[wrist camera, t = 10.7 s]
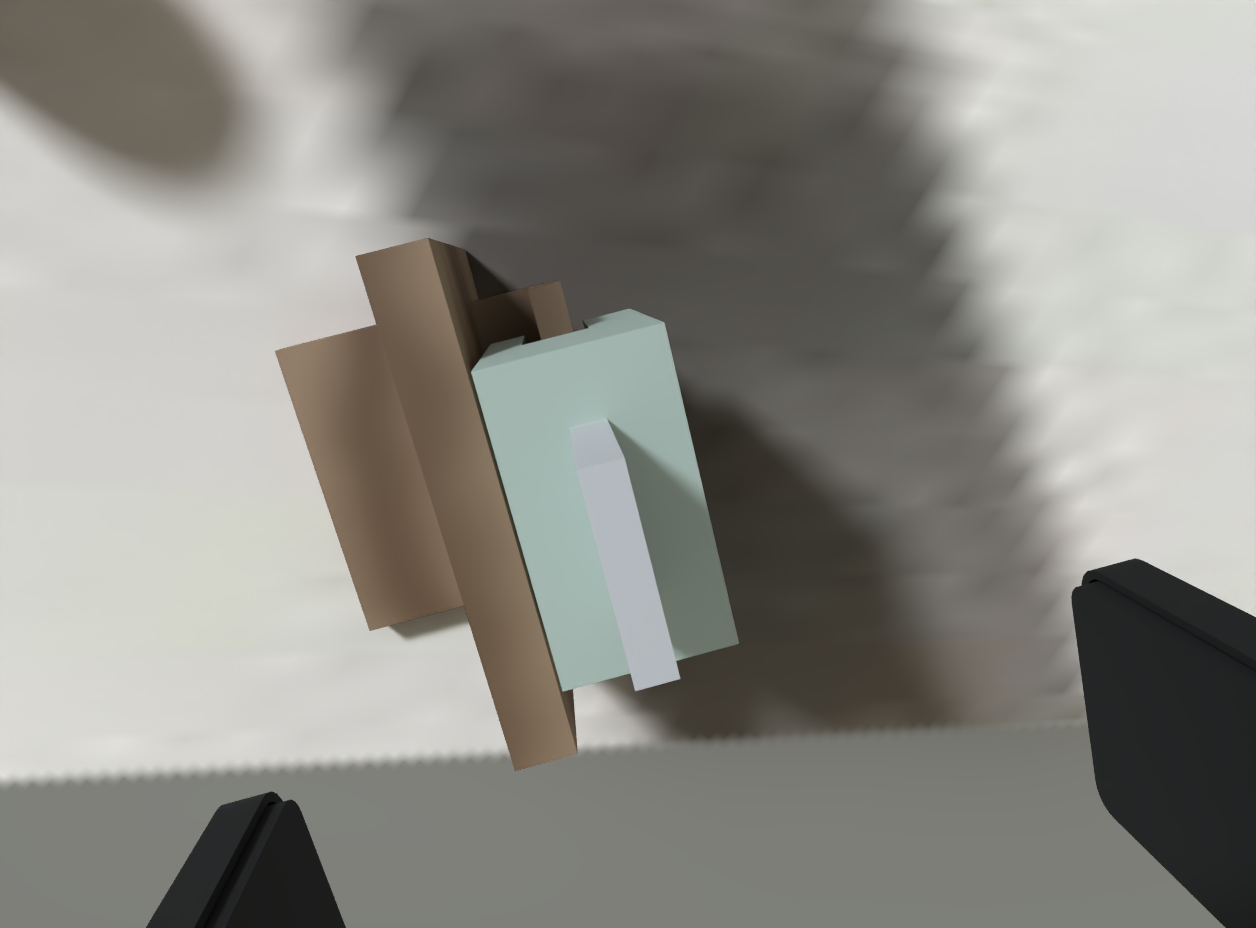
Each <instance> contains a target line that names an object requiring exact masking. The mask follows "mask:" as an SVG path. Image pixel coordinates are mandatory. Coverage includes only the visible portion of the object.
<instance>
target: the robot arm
mask: <svg viewBox="0 0 1256 928" xmlns="http://www.w3.org/2000/svg"><path fill="white" fill-rule="evenodd" d="M1072 608H1073V616H1074V623H1075V631H1076V638H1077V646H1078V653H1079V661H1080V668H1081V676H1082V683H1083V690H1084V698H1085V705H1086V713H1087V720H1088V728H1089V735H1090V742H1091V749H1092V757H1093V765H1094V773H1095V780H1096V785H1097V789H1098V792H1099V795H1100V797H1101V799H1102V801H1103V803H1104V805H1105V807H1106V808H1107V810H1108V811H1109V813H1110V814H1111V815H1112V816H1113V817H1114V819H1116V821H1117V822H1118V823H1119V824H1121V825H1122V826H1123V827H1124V828H1125V829H1126V830H1127V831H1128V832H1129V833H1130V834H1131V835H1132V836H1133V837H1134V838H1135V839H1136V840H1137V841H1138V842H1139V843H1140V844H1141V845H1142V846H1143V847H1144V848H1145V849H1146V850H1147V851H1148V852H1149V853H1150V854H1151V855H1152V856H1153V857H1154V858H1155V859H1156V860H1157V861H1158V862H1159V863H1160V864H1161V865H1162V866H1163V867H1164V868H1165V869H1167V871H1169V873H1171V875H1173V876H1174V877H1175V878H1176V879H1177V880H1178V881H1179V882H1180V883H1181V884H1182V885H1183V886H1184V887H1185V888H1186V889H1187V890H1188V891H1189V892H1190V893H1191V894H1192V895H1193V896H1194V897H1195V898H1196V899H1197V900H1198V901H1199V902H1200V903H1201V904H1202V905H1203V906H1204V907H1205V908H1206V909H1207V910H1208V911H1209V912H1210V913H1211V914H1212V915H1213V916H1214V917H1215V918H1216V919H1217V920H1218V921H1219V922H1220V923H1222V925H1224V926H1225V927H1226V928H1256V617H1254V616H1252V615H1250V614H1248V613H1246V612H1244V611H1242V610H1240V609H1238V608H1236V607H1234V606H1232V605H1230V604H1228V603H1226V602H1224V601H1222V600H1220V599H1218V598H1216V597H1214V596H1212V595H1210V594H1208V593H1206V592H1204V591H1202V590H1200V589H1198V588H1196V587H1194V586H1192V585H1190V584H1188V583H1186V582H1184V581H1182V580H1180V579H1178V578H1176V577H1174V576H1172V575H1170V574H1168V573H1166V572H1164V571H1162V570H1160V569H1158V568H1156V567H1154V566H1152V565H1150V564H1148V563H1146V562H1144V561H1142V560H1139V559H1132V560H1128V561H1124V562H1120V563H1117V564H1113V565H1109V566H1105V567H1102V568H1098V569H1094V570H1091V571H1087V572H1086V573H1085V575H1084V576H1083V580H1082V586H1079V587H1075V589H1074V590H1073V592H1072ZM146 928H346V927H345V924H344V922H343V919H342V917H341V914H340V912H339V909H338V906H337V904H336V901H335V899H334V896H333V893H332V891H331V888H330V885H329V883H328V880H327V878H326V875H325V872H324V870H323V867H322V865H321V862H320V860H319V857H318V854H317V852H316V849H315V846H314V844H313V841H312V838H311V836H310V833H309V831H308V828H307V825H306V823H305V820H304V818H303V815H302V812H301V810H300V808H299V806H298V805H297V803H296V802H295V801H293V800H288V801H284V802H283V801H282V799H281V798H280V797H279V796H278V794H276V793H274V792H269V793H265V794H261V795H257V796H254V797H250V798H247V799H243V800H239V801H235V802H232V803H228V804H224V805H221V806H220V807H219V809H217V811H216V812H215V814H214V815H213V817H212V819H211V821H210V822H209V824H208V826H207V827H206V829H205V831H204V832H203V834H202V835H201V837H200V839H199V841H198V842H197V844H196V846H195V847H194V849H193V851H192V852H191V854H190V855H189V857H188V859H187V860H186V862H185V864H184V865H183V867H182V869H181V870H180V872H179V874H178V875H177V877H176V879H175V880H174V882H173V884H172V885H171V887H170V889H169V890H168V892H167V894H166V895H165V897H164V898H163V900H162V902H161V903H160V905H159V907H158V908H157V910H156V912H155V913H154V915H153V917H152V918H151V920H150V922H149V923H148V925H147V927H146Z"/></svg>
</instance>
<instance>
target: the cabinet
mask: <svg viewBox="0 0 1256 928" xmlns="http://www.w3.org/2000/svg"><path fill="white" fill-rule="evenodd" d="M583 324H584V328H585V329H583V330H579V331H575V332H572V333H568V334H564V335H560V336H556V337H552V338H548V339H544V340H540V341H536V342H532V343H528V344H527V343H526V340H525V336H520V337H516V338H513V339H509V340H505V341H501V342H497V343H493V344H491V345H490V346H489V347H488V349H487V350H486V352H485V353H484V354H483V356H482V357H481V359H480V360H479V361H478V363H477V364H476V366H475V367H474V368H473V370H472V371H471V374H472V377H473V381H474V384H475V388H476V391H477V395H478V398H479V402H480V405H481V408H482V412H483V415H484V419H485V422H486V426H487V429H488V433H489V436H490V440H491V443H492V447H493V450H494V454H495V457H496V461H497V464H498V468H499V471H500V475H501V478H502V482H503V485H504V489H505V492H506V496H507V499H508V503H509V506H510V510H511V513H512V517H513V520H514V523H515V527H516V530H517V534H518V537H519V541H520V544H521V548H522V551H523V555H524V558H525V562H526V565H527V569H528V572H529V576H530V579H531V583H532V586H533V590H534V593H535V597H536V600H537V604H538V607H539V611H540V614H541V618H542V621H543V625H544V628H545V632H546V635H547V638H548V642H549V645H550V649H551V652H552V656H553V659H554V663H555V666H556V670H557V673H558V677H559V680H560V684H561V687H562V691H567V690H571V689H574V688H578V687H582V686H586V685H589V684H593V683H597V682H600V681H604V680H608V679H611V678H615V677H619V676H622V675H626V674H630V673H631V677H632V681H633V685H634V688H635V691H638V690H642V689H645V688H649V687H653V686H656V685H660V684H664V683H667V682H671V681H675V680H678V679H680V675H679V671H678V667H677V663H676V661H678V660H681V659H685V658H689V657H692V656H696V655H700V654H703V653H707V652H711V651H714V650H718V649H722V648H725V647H729V646H733V645H737V644H739V641H738V636H737V632H736V628H735V624H734V619H733V615H732V611H731V606H730V602H729V598H728V594H727V589H726V585H725V581H724V576H723V572H722V568H721V563H720V559H719V555H718V551H717V546H716V542H715V538H714V533H713V529H712V525H711V521H710V516H709V512H708V508H707V503H706V499H705V495H704V491H703V486H702V482H701V478H700V473H699V469H698V465H697V461H696V456H695V452H694V448H693V443H692V439H691V435H690V431H689V426H688V422H687V418H686V413H685V409H684V405H683V401H682V396H681V392H680V388H679V383H678V379H677V375H676V371H675V366H674V362H673V358H672V353H671V349H670V345H669V341H668V336H667V332H666V328H665V323H664V322H662V321H659V320H657V319H654V318H652V317H649V316H647V315H644V314H642V313H639V312H637V311H634V310H632V309H626V310H623V311H619V312H615V313H611V314H607V315H603V316H599V317H595V318H591V319H587V320H583Z"/></svg>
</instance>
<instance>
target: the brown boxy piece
mask: <svg viewBox="0 0 1256 928" xmlns="http://www.w3.org/2000/svg"><path fill="white" fill-rule="evenodd" d="M356 260H357V263H358V266H359V269H360V273H361V276H362V279H363V282H364V285H365V289H366V292H367V295H368V298H369V302H370V305H371V308H372V311H373V314H374V318H375V321H376V324H377V325H373V326H369V327H366V328H362V329H358V330H354V331H350V332H346V333H342V334H338V335H334V336H330V337H326V338H322V339H318V340H314V341H311V342H307V343H303V344H299V345H295V346H291V347H287V348H283V349H280V350H277V351H275V353H276V356H277V359H278V362H279V365H280V368H281V371H282V374H283V376H284V379H285V382H286V385H287V388H288V391H289V394H290V397H291V400H292V403H293V406H294V409H295V412H296V415H297V418H298V421H299V424H300V427H301V430H302V433H303V435H304V438H305V441H306V444H307V447H308V450H309V453H310V456H311V459H312V462H313V465H314V468H315V471H316V474H317V477H318V480H319V483H320V486H321V489H322V492H323V494H324V497H325V500H326V503H327V506H328V509H329V512H330V515H331V518H332V521H333V524H334V527H335V530H336V533H337V536H338V539H339V542H340V545H341V548H342V551H343V553H344V556H345V559H346V562H347V565H348V568H349V571H350V574H351V577H352V580H353V583H354V586H355V589H356V592H357V595H358V598H359V601H360V604H361V607H362V610H363V612H364V615H365V618H366V621H367V624H368V627H369V630H370V631H371V630H375V629H379V628H383V627H386V626H390V625H394V624H397V623H401V622H405V621H409V620H412V619H416V618H420V617H424V616H427V615H431V614H435V613H438V612H442V611H446V610H450V609H453V608H457V607H461V606H464V608H465V611H466V614H467V617H468V621H469V624H470V627H471V630H472V634H473V637H474V640H475V643H476V647H477V650H478V653H479V656H480V659H481V663H482V666H483V669H484V672H485V676H486V679H487V682H488V685H489V688H490V692H491V695H492V698H493V701H494V705H495V708H496V711H497V714H498V717H499V721H500V724H501V727H502V730H503V734H504V737H505V740H506V743H507V746H508V750H509V753H510V756H511V759H512V763H513V766H514V769H515V771H517V770H521V769H524V768H528V767H532V766H535V765H538V764H543V763H546V762H550V761H553V760H557V759H561V758H564V757H568V756H571V755H575V754H578V752H577V738H576V725H575V712H574V699H573V689H571V690H567V691H562V687H561V684H560V680H559V677H558V673H557V670H556V666H555V663H554V659H553V656H552V652H551V649H550V645H549V642H548V638H547V635H546V632H545V628H544V625H543V621H542V618H541V614H540V611H539V607H538V604H537V600H536V597H535V593H534V590H533V586H532V583H531V579H530V576H529V572H528V569H527V565H526V562H525V558H524V555H523V551H522V548H521V544H520V541H519V537H518V534H517V530H516V527H515V523H514V520H513V517H512V513H511V510H510V506H509V503H508V499H507V496H506V492H505V489H504V485H503V482H502V478H501V475H500V471H499V468H498V464H497V461H496V457H495V454H494V450H493V447H492V443H491V440H490V436H489V433H488V429H487V426H486V422H485V419H484V415H483V412H482V408H481V405H480V402H479V398H478V395H477V391H476V388H475V384H474V381H473V377H472V374H471V371H472V370H473V368H474V367H475V366H476V364H477V363H478V361H479V360H480V359H481V357H482V356H483V354H484V353H485V352H486V350H487V349H488V347H489V346H490V345H491V344H493V343H497V342H501V341H505V340H509V339H513V338H516V337H520V336H525V340H526V343H527V344H528V343H532V342H536V341H540V340H544V339H548V338H552V337H556V336H560V335H564V334H568V333H572V332H573V329H572V325H571V321H570V317H569V313H568V309H567V305H566V302H565V298H564V294H563V290H562V286H561V282H560V281H558V280H555V281H551V282H547V283H543V284H539V285H535V286H531V287H527V288H523V289H519V290H515V291H511V292H507V293H504V294H500V295H496V296H492V297H488V298H484V299H480V300H479V297H478V294H477V290H476V287H475V283H474V280H473V276H472V272H471V269H470V265H469V262H468V258H467V255H466V251H465V249H462V248H459V247H455V246H452V245H449V244H446V243H442V242H439V241H436V240H433V239H430V238H426V239H422V240H418V241H414V242H410V243H406V244H402V245H398V246H394V247H390V248H386V249H382V250H378V251H374V252H370V253H366V254H362V255H358V256H356Z"/></svg>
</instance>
